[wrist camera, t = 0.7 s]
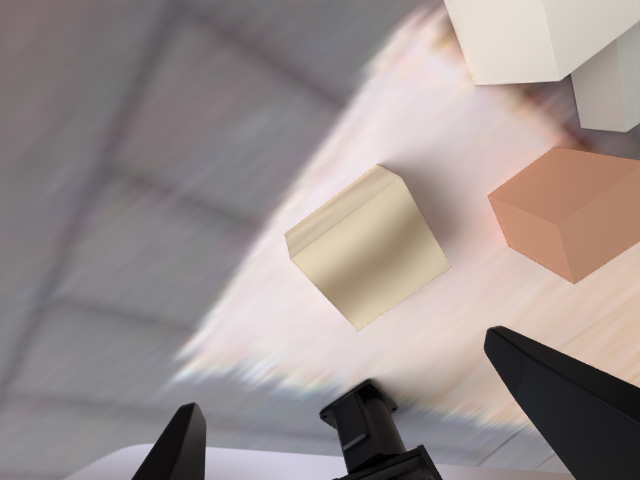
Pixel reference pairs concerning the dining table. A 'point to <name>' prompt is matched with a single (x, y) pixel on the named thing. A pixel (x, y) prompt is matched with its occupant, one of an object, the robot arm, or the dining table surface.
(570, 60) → the offwhite cube
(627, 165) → the terracotta cube
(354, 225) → the base block
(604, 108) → the plinth
